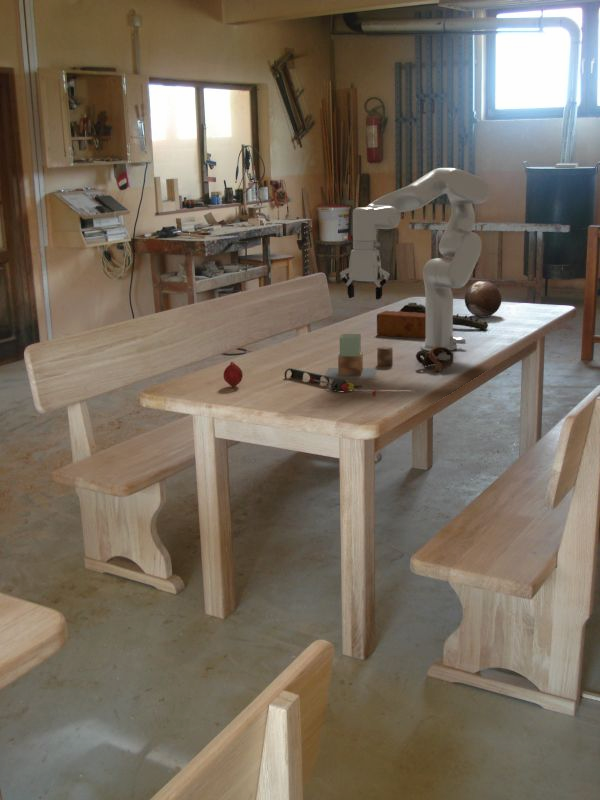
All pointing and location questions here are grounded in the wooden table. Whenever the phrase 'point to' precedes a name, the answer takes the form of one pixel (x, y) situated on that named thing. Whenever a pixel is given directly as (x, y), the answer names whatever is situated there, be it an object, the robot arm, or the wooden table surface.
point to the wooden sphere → (483, 298)
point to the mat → (366, 374)
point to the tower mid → (350, 345)
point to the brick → (401, 324)
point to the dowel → (384, 356)
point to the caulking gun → (335, 385)
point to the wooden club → (456, 319)
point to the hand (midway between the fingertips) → (364, 298)
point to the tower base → (350, 365)
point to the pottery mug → (435, 358)
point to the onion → (233, 374)
